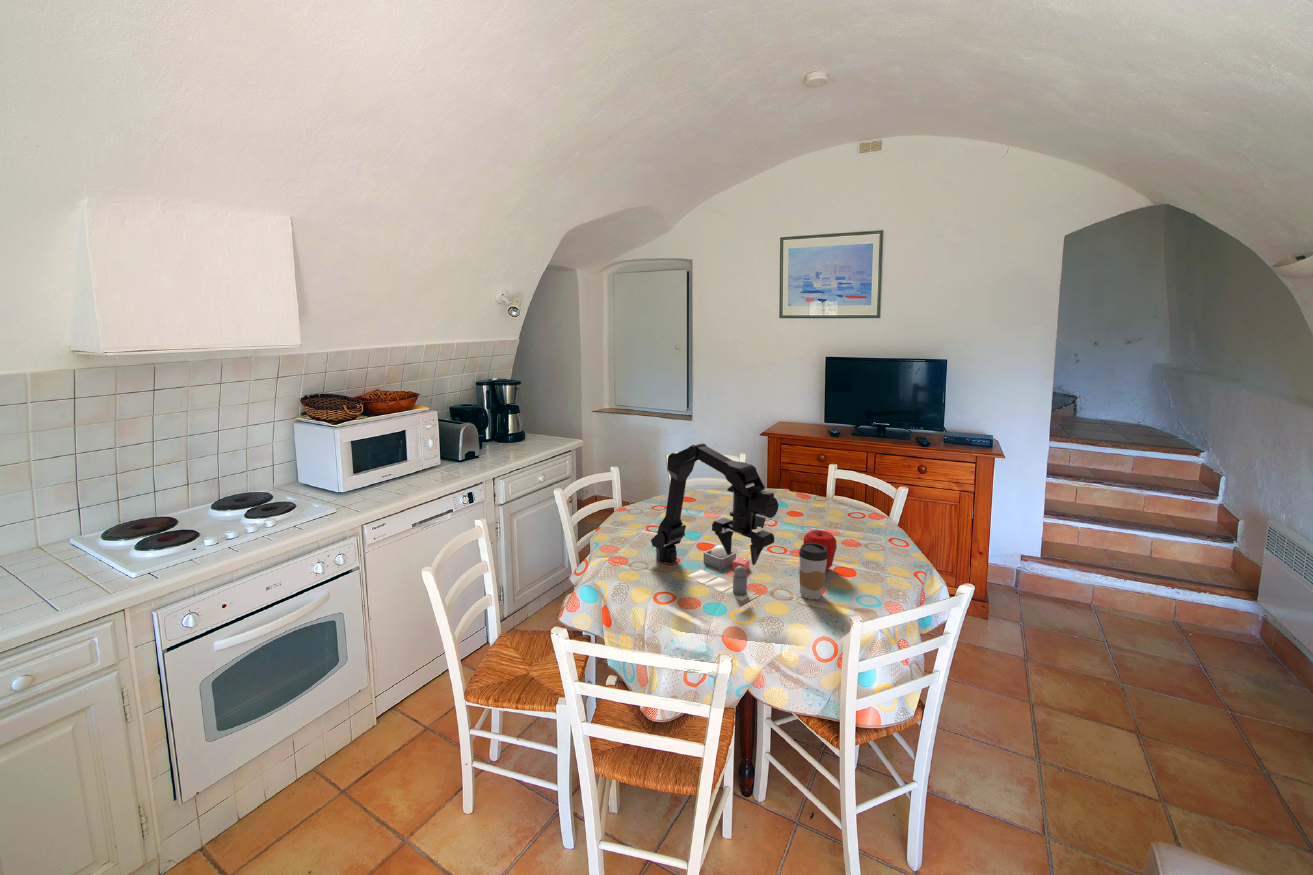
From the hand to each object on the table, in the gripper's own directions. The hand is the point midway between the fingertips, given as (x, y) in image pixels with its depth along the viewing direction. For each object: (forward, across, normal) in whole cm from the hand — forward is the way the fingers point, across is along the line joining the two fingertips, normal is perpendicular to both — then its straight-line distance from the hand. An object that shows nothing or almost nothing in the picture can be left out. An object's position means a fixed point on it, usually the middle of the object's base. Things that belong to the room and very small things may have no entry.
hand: (741, 559), depth 175 cm
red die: (+12, +10, -13) cm, 20 cm away
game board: (+12, +8, 0) cm, 14 cm away
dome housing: (+12, +18, -12) cm, 25 cm away
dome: (+11, +18, -12) cm, 24 cm away
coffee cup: (+12, -14, -16) cm, 24 cm away
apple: (+12, -6, -33) cm, 36 cm away
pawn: (+10, 0, 0) cm, 11 cm away
